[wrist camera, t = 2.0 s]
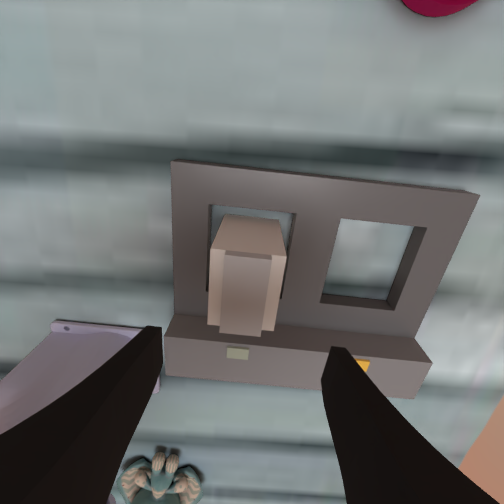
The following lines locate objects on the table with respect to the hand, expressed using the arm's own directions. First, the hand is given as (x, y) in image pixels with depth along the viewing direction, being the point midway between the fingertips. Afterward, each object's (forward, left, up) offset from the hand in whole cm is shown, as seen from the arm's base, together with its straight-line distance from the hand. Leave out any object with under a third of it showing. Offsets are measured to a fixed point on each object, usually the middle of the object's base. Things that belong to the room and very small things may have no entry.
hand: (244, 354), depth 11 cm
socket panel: (+4, -2, -10) cm, 11 cm away
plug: (0, 0, -10) cm, 11 cm away
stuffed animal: (-8, -32, -11) cm, 35 cm away
